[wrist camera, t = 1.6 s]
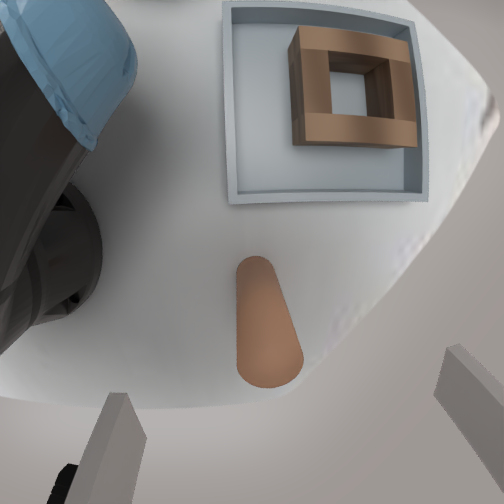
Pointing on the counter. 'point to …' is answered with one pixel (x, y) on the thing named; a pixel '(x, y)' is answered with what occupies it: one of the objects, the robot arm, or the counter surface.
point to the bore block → (376, 89)
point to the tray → (279, 112)
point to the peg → (264, 328)
